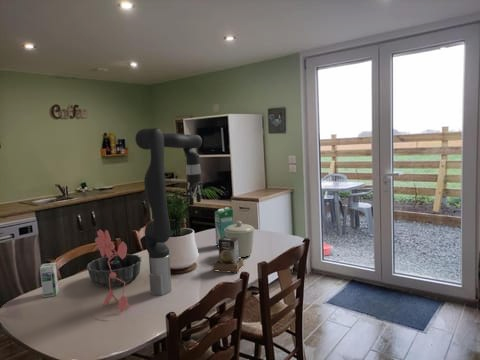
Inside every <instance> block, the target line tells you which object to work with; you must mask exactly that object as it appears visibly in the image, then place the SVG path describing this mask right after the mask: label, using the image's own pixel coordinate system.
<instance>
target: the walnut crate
mask: <svg viewBox="0 0 480 360" xmlns="http://www.w3.org/2000/svg"><path fill="white" fill-rule="evenodd" d="M242 266H243V267H244V258H239V262H238V263H237V264H224V263H219V258H218V259H217V260H216V261H215V262H213V271H214V270H219V271H230V272H238V271H239V269H240V268H241V267H242ZM239 272H240V271H239ZM239 272H238V273H239Z"/></svg>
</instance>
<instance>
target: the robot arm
mask: <svg viewBox="0 0 480 360" xmlns="http://www.w3.org/2000/svg"><path fill="white" fill-rule="evenodd" d="M134 140H135V143H136V145H137V146H138V147H139V148H140V149H142V150H150V161H149V166H148V168H147V169H146V172H145V175H144V178H143V181H144V182H143V185H144V193H145V197H146V200H147V203H148V204H149V206H150V209H151V213H152V217H153V219H152V220H150V221H149V222H148V223H147V224H146V226H145V229H144V239H145V247H146V251H147V253H148V261H149V263H148V264H149V274H148V277H149V278H148V279H149V291H150V295H154V296H155V295H156V296H163V295H167V294H169V293H170V292H172V276H171V262H170V261H171V260H170V259H171V258H170V249H169V247H168V246H167V245H166V242H168V241H169V239H170V237H171V233H172V229H171V228H172V227H171V223H170V217H169V212H168V202H167V201H168V200H167V187H166V176H165V160H164V159H165V148H172V149H173V148H174V149H183V152H184V156H185V162H186V163H185V164H186V166H185V169H186V170H185V171H186V172H185V173H186V174H185V175H186V182H187V183H189V185H186V186H185V190H186V191H185V192H186V193H185V194H186V198H188V200H189V201H188V202H189V206H194V205H195V202H194V201H195V200H194V199H195V198H194V197H195V195H196V202H197V203H201V202H202V198H201V196H202V194H203V183H202V170H201V169H202V168H201V162H200V160H201V159H200V154H199V153H197V152H195V151H194V149H199V148H201V146H202V144H203V139H202V137H201V136H200V135H198V134H183V133H173V132H172V133H171V132H170V133H163V131H162V130H161V129H160V128H157V127H154V128H153V127H151V128H143V129H139V130H138V131H137V132H136V134H135V139H134Z"/></svg>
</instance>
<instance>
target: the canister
mask: <svg viewBox="0 0 480 360" xmlns="http://www.w3.org/2000/svg"><path fill="white" fill-rule="evenodd" d="M224 231H225V233H226V237H232V238H238V253H239V257H246V256H248V257H250V256H251V255H252V253H253V244H254V243H253V242H254V232H255V227H254V226H252V225H251V224H248V223H247V224H246V223H243V222H242V221H241V220H237V221H236V222H235V224H234V223H233V225H230V226H228V227H226V228H225V229H224ZM250 254H251V255H250ZM249 255H250V256H249ZM246 258H247V257H246Z"/></svg>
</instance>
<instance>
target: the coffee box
mask: <svg viewBox="0 0 480 360" xmlns="http://www.w3.org/2000/svg"><path fill="white" fill-rule="evenodd" d="M218 257H219V258H218V259H219V263H224V264H237V263H238V262H239V253H238V238H232V237H222V238H220V239H219V247H218Z"/></svg>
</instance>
